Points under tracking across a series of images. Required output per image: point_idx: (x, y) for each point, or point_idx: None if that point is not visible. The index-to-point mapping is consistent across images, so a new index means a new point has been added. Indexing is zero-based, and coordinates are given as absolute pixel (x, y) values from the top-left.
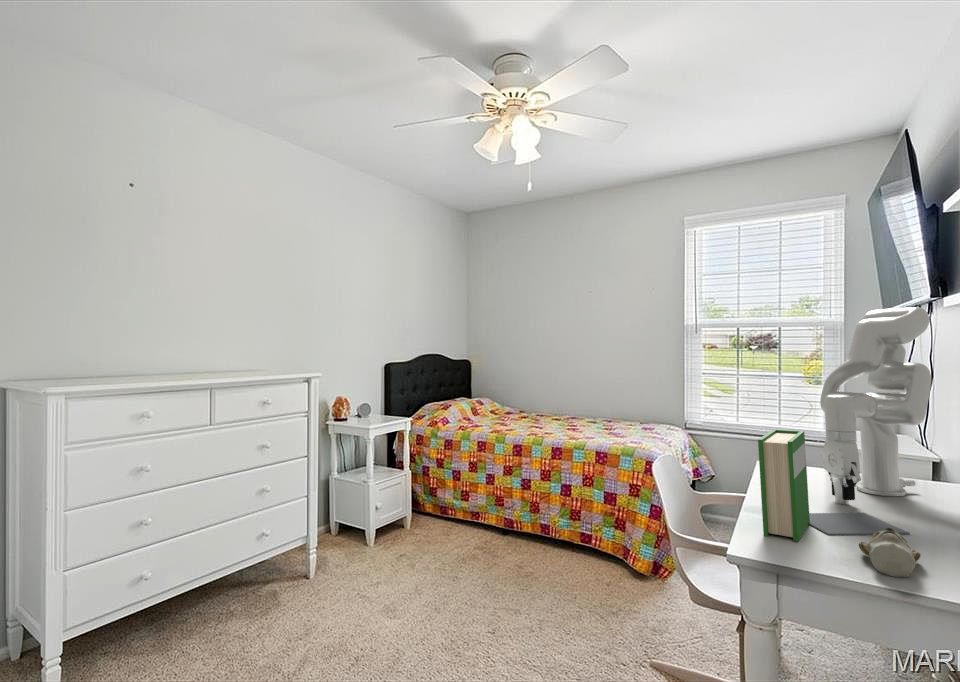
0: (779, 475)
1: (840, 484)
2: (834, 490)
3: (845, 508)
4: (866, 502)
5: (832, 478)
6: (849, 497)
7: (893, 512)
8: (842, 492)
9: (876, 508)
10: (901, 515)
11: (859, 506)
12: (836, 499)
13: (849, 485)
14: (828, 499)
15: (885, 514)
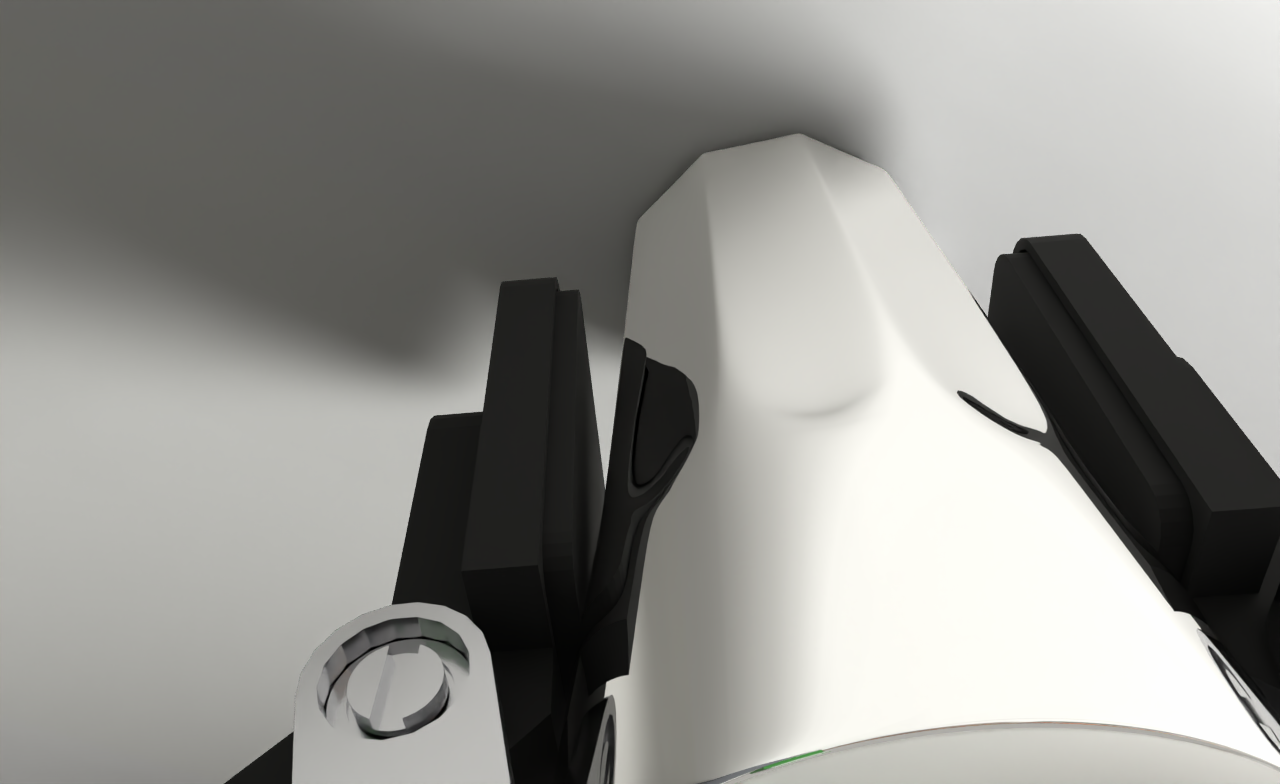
0: None
1: (626, 584)
2: (881, 290)
3: (275, 103)
4: None
5: (1127, 622)
6: (434, 431)
7: (200, 758)
8: (617, 412)
9: None
10: (38, 776)
11: None
12: (775, 174)
13: (273, 758)
14: (1153, 113)
15: (6, 620)
